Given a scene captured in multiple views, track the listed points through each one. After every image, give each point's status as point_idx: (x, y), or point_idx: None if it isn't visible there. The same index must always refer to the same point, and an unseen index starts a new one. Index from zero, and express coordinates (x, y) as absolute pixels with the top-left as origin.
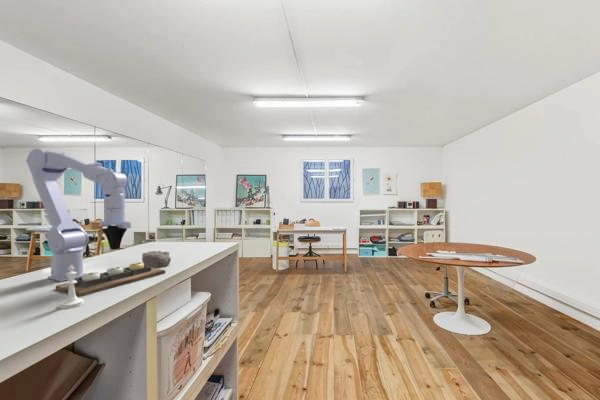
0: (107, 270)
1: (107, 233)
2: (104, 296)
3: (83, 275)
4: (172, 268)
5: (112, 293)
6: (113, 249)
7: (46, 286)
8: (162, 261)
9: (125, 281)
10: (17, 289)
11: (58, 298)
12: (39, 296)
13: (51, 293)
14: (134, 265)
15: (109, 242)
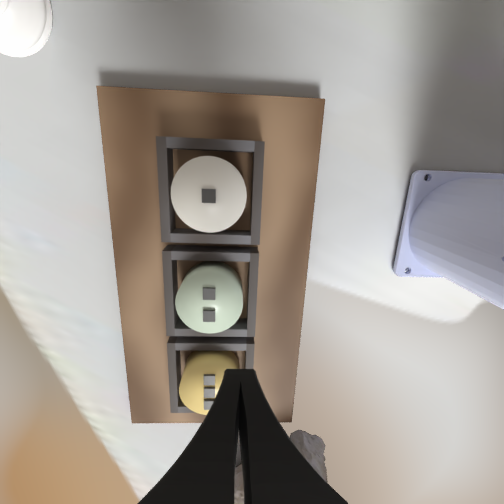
0: (217, 273)
1: (251, 479)
2: (16, 136)
3: (216, 163)
4: (176, 458)
5: (32, 174)
6: (225, 372)
7: (403, 106)
8: (235, 480)
9: (117, 272)
10: (485, 20)
11: (159, 32)
12: (269, 9)
13: (267, 58)
14: (192, 373)
15: (249, 402)
